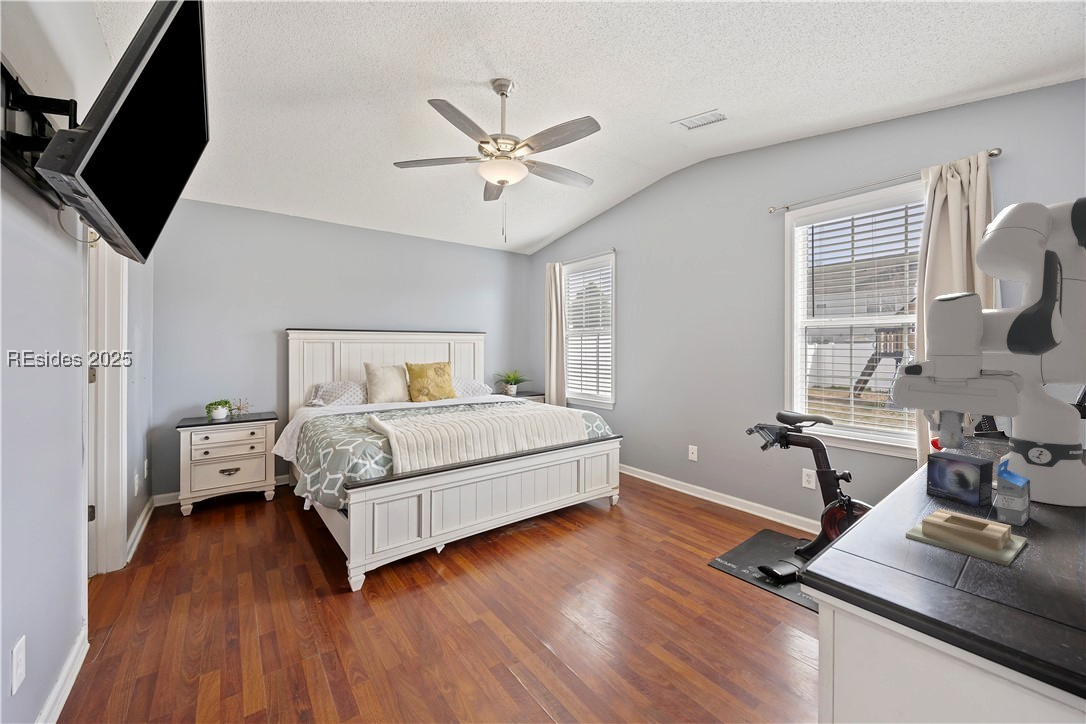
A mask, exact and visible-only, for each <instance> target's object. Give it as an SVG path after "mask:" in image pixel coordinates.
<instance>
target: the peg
mask: <svg viewBox="0 0 1086 724" xmlns="http://www.w3.org/2000/svg"><path fill="white" fill-rule="evenodd" d="M938 412H939V414H938V415H939V417H938V423H939V431H938V447H940V448H943V449H948V450H949V449H951V450H964V449H965V448H964V447H965V435H964V434H963V431H964V430H963V426H965V418H966V417H965V416H966V413H958V412H955V411H938Z"/></svg>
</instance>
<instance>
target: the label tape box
mask: <svg viewBox="0 0 1086 724" xmlns="http://www.w3.org/2000/svg"><path fill="white" fill-rule="evenodd" d="M1008 462H1009V459H1007V460H1005V461H1003V462H1002V463H1000V462H999V464H997V472H996V481H997V489H996V492H997V493H996V501H997V502H996V503H997V505H996V508H997V509H996V510H997V521H998V522H999V523H1003V524H1007V525H1014V526H1020V527H1023V526H1024V525H1025V523H1026V522H1028V520H1029V519H1030V517H1031V500H1030V480H1029V479H1027V478H1025V477H1022V476H1020V475H1018V474H1016V473H1014V472H1012V471H1009V470H1008V469H1007V466H1008ZM1002 467H1004V468H1003V469H1002V470H1001V468H1002Z"/></svg>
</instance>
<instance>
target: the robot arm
mask: <svg viewBox="0 0 1086 724" xmlns="http://www.w3.org/2000/svg"><path fill="white" fill-rule="evenodd" d="M975 263H976V265H977V267H978V268H979V270H981V271H982V273H984V274H986V275H987V276H989V277H991V278H993V279H996V280H999V281H1000V280H1001V281H1006V282H1016V283H1017V282H1018V283H1023V289H1022V297H1021V303H1020V304H1021V305H1020V306H1014V307H1001V308H983V306H982V300H981V295H980V294H979V293H976V292H966V291H965V292H957V293H956V292H955V293H949V294H948V293H947V294H942V295H939V296H936V297H935V298H933V299H932V300H931V302H930V306H929V309H928V315H927V324H926V336H927V340H928V348H927V350H926V355H925V357H926V358H925V360H924V361H917V362H914V363H912V364H911V363H910V364H907V365H906V364H905V365H901V366H900V367H899V369H898V373H899V375H900V376H899V377H898V378H897V379H896V380H895V383H894V386H893V390H892V391H893V393H892V404H894V406H895V407H896V408H902V409H903V408H904V409H905V408H906V409H914V410H916V409H917V410H923V416H924V418H925V419H926V420H927V422H928V423H929V431H931V432H939V421H938V422H937V421H936V419H935V418H934V417H933V415H935V413H936V411H937V412H939V411H955V412H958V413H965V414H969V416H970V419H971V420H973V421H971V423H970V424H969V425H965V424H964V426H963V430H964V431H963V434H964V436H965V435H966V436H971V437H972V436H974V435H975V427H976V426H977V425H978V424H979V423H980V422H981V421H982V420H983V416H994V417H1002V418H1003V417H1004V418H1011V427H1012V428H1011V431H1012V432H1011V436H1009V440H1008V450H1009V452H1008V453H1007V454H1005V455H1003V456H1000V458H999V459H1000V460H999V464H1000V463H1002V462H1003V461H1005V460H1007V459H1009V462H1008V466H1007V469H1008V470H1009V471H1012V472H1014V473H1016V474H1018V475H1020V476H1022V477H1025V478H1027V479H1029V480H1030V501H1035V502H1039V503H1045V504H1049V505H1051V504H1052V505H1058V506H1067V507H1086V465H1085V464H1084V463H1083V462H1082V460H1081V459H1083V453H1084V449H1083V444H1082V443H1080V442H1081V422H1082V421H1081V419H1082V418H1081V417H1082V416H1081V413H1080V412H1079V410H1078V409H1077V407H1075V406H1074V405H1072V404H1071V403H1068V402H1066V401H1064V400H1061V399H1058V398H1057V397H1055V396H1054V397H1053V396H1051V395H1050V394H1049V393H1047V392H1046V390H1045V388H1044V385H1059V386H1060V385H1062V386H1078V387H1079V386H1081V387H1082V386H1085V387H1086V196H1084V197H1083V196H1082V197H1079V198H1076V199H1075V200H1074V199H1072V200H1068V201H1067V200H1066V201H1060V202H1057V203H1051V204H1047V205H1044V204H1041V203H1039V202H1033V201H1026V202H1024V201H1023V202H1019V203H1015V204H1012V205H1010V206H1007V207H1006V208H1004V209H1003V210H1002V211H1000V212H999V213H998V214H997V216H996V217H995V218H994V219H993V221H992V222H991V223H989V224H988V225H987V227H986V228H985V229H984V230H983V232H982V237H981V241H980V243H979V244H978V247H977V249H976V254H975ZM1003 468H1004V467H1002V468H1001V470H1002V469H1003ZM992 489H996V490H997V480H995V481H992Z"/></svg>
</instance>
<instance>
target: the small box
mask: <svg viewBox="0 0 1086 724" xmlns="http://www.w3.org/2000/svg"><path fill="white" fill-rule="evenodd" d="M993 467H994V461H993V460H991V459H984V458H979V457H972V456H968V455H962V454H956V453H953V452H946V451H936V452H931V453H928V454H927V465H926V493H925V494H926V495H930V496H933V497H938V498H941V499H944V500H948V501H951V502H955V503H960V504H963V505H968V506H970V507H974V508H984V507H986V506H991V505H992V504H993V501H992V500H993V496H992V495H993V488H992V482H993Z"/></svg>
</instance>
